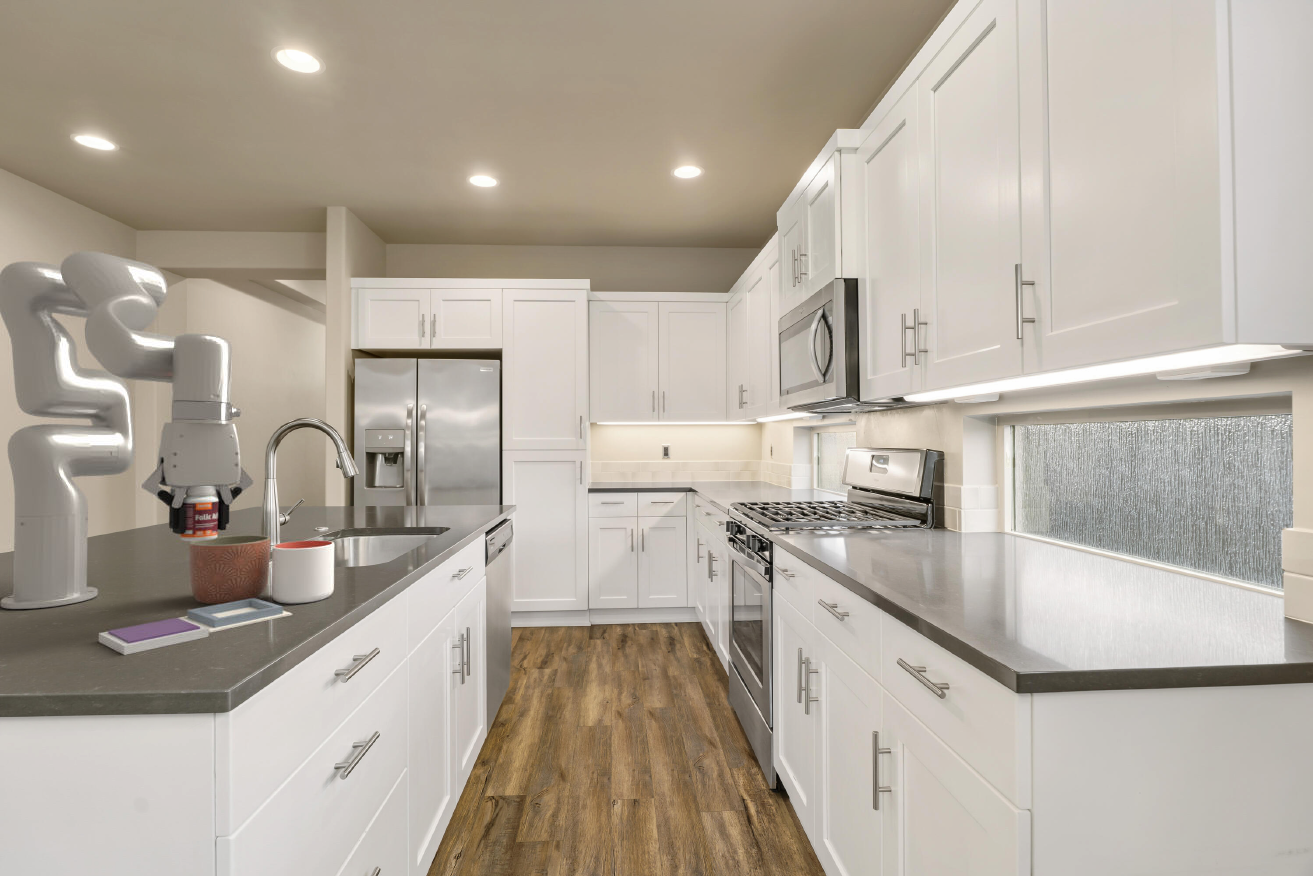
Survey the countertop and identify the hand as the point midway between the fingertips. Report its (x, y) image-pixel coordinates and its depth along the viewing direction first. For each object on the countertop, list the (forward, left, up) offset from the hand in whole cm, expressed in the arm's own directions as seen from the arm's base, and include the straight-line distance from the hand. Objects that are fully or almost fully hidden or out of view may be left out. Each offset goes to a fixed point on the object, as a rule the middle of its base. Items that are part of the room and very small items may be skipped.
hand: (199, 530), depth 99 cm
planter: (-15, +11, -15) cm, 24 cm away
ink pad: (+2, -6, -15) cm, 16 cm away
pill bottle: (0, 0, -2) cm, 2 cm away
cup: (-5, +19, -15) cm, 25 cm away
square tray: (-1, +6, -15) cm, 16 cm away
